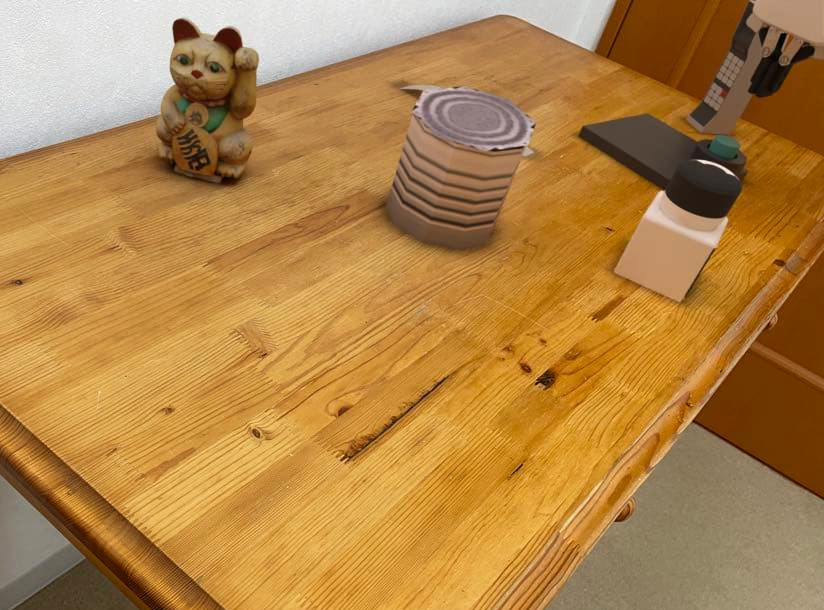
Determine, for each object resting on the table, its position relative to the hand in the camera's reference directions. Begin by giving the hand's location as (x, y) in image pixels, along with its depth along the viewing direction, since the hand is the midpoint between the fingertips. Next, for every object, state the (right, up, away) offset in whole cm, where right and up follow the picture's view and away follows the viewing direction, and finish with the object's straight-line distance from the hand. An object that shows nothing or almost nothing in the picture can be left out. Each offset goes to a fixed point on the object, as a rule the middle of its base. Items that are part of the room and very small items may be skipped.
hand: (759, 93), depth 100 cm
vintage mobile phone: (+3, +2, +19) cm, 20 cm away
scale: (-8, -6, +8) cm, 13 cm away
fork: (-34, -1, +7) cm, 34 cm away
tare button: (-2, -5, +6) cm, 8 cm away
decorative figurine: (-64, -12, -13) cm, 67 cm away
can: (-40, -18, -13) cm, 46 cm away
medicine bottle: (-18, -24, -13) cm, 32 cm away
